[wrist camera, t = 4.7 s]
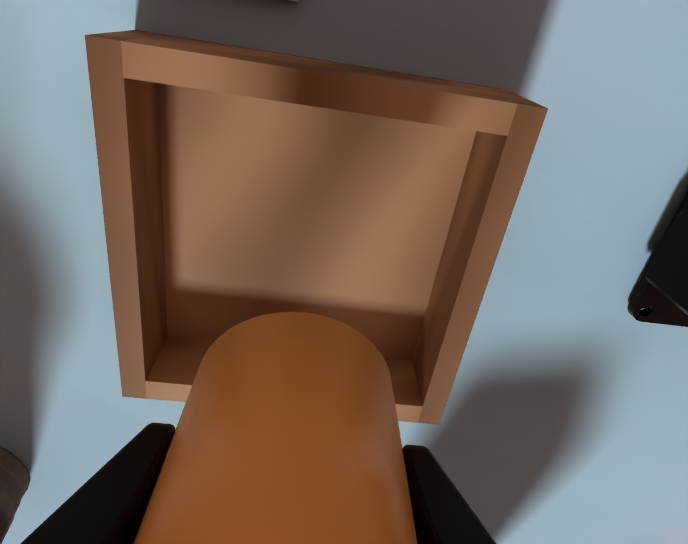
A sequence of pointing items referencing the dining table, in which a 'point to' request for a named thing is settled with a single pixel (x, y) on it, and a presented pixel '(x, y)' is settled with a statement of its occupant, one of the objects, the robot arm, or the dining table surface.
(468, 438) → the dining table surface
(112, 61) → the tray
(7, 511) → the beverage cup
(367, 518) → the pin
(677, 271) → the robot arm
